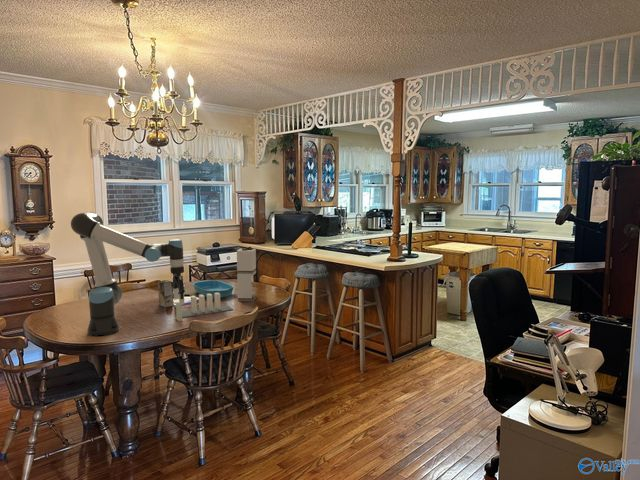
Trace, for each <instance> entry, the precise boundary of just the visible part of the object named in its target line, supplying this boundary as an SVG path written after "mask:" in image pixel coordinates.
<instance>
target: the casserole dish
mask: <svg viewBox="0 0 640 480" xmlns="http://www.w3.org/2000/svg"><path fill="white" fill-rule="evenodd" d="M192 286H193V288H194V290H195V292H196V293H198V295H204V297H205V298H207V294H212V297H213V300H215V296H214V293H217V292H218V293H219V294H220V299H221V298H227V297H230V296H231V295H232V293H233V291H234V286H233V284H230V283H227V282H225V281H222V280H217V279H210V280H209V279H208V280H207V279H206V280H201V281H197V282H194V283H192Z"/></svg>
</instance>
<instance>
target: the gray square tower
mask: <svg viewBox="0 0 640 480" xmlns="http://www.w3.org/2000/svg"><path fill="white" fill-rule="evenodd" d="M256 251H257V250H256V248H252V249H250V250H249V249H248V250H243V248H241V247H240V248H239V249H237V250H236V272H237V273H236V274H237V276H236V277H237V282H236V283H237V301H238V302H254V301H255V300H256V298H257V293H253V292H252V291H253V290H252V285H254V275H255V274H257V257H256V256H257V252H256Z"/></svg>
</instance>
